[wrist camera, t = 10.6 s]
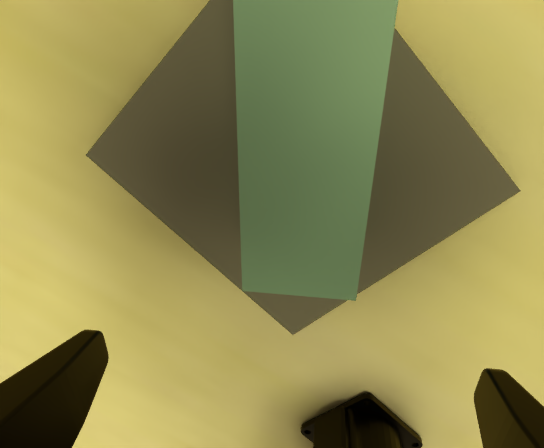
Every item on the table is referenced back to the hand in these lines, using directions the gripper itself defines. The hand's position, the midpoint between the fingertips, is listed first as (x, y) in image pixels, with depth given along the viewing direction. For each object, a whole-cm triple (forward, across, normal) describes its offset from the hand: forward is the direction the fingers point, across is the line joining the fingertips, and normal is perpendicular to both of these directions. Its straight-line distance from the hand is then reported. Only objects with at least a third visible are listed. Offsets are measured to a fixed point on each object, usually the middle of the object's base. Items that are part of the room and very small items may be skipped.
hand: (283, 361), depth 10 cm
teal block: (+10, 0, +4) cm, 11 cm away
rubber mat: (+13, +1, 0) cm, 13 cm away
